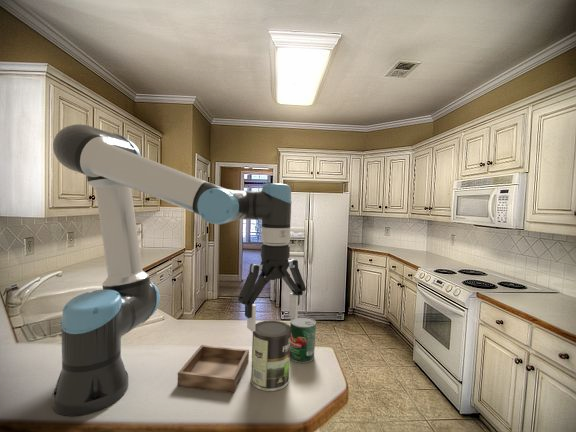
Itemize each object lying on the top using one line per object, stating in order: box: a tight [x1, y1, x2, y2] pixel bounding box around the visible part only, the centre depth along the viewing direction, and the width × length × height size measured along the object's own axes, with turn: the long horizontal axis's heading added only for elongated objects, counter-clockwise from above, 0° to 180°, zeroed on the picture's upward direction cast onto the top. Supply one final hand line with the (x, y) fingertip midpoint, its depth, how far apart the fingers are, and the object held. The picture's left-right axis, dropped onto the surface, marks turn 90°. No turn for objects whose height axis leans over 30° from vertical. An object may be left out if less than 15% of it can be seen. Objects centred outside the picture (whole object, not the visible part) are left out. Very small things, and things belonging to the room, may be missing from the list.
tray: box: [177, 344, 250, 394], centre depth 82 cm, size 15×15×4 cm
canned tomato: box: [289, 316, 317, 364], centre depth 92 cm, size 8×8×11 cm
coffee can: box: [250, 320, 291, 392], centre depth 80 cm, size 10×10×14 cm
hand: (273, 323), depth 79 cm, fingers open, 13 cm apart
